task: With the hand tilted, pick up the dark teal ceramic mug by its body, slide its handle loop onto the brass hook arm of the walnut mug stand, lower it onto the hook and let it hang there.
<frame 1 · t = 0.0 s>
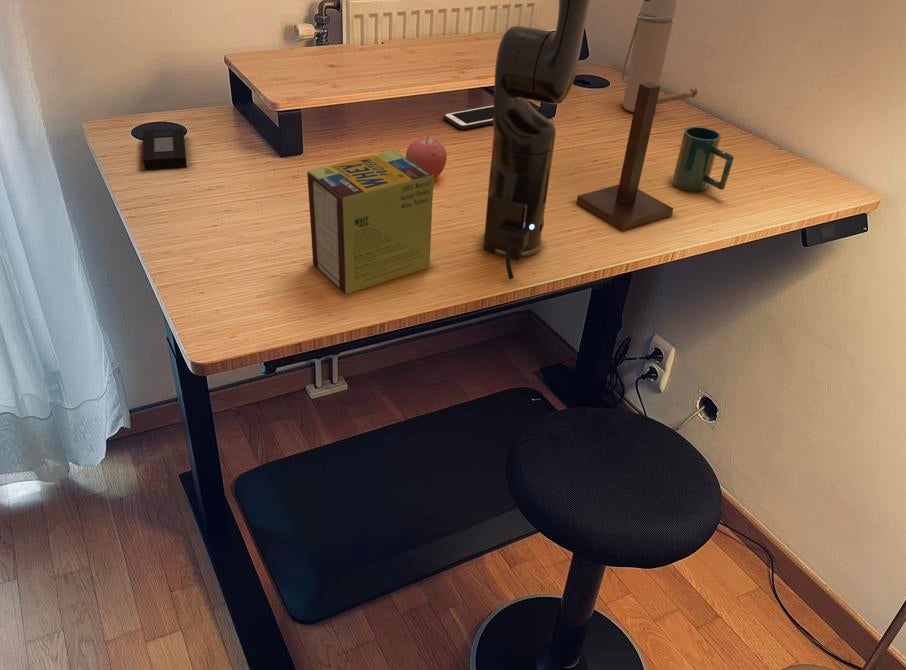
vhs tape: (165, 154, 151), on the table
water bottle: (633, 109, 182), on the table
apple: (425, 179, 148), on the table
cell phone: (479, 120, 172), on the table
mug stand: (623, 209, 141), on the table
protein box: (371, 267, 122), on the table
mug: (689, 184, 150), on the table
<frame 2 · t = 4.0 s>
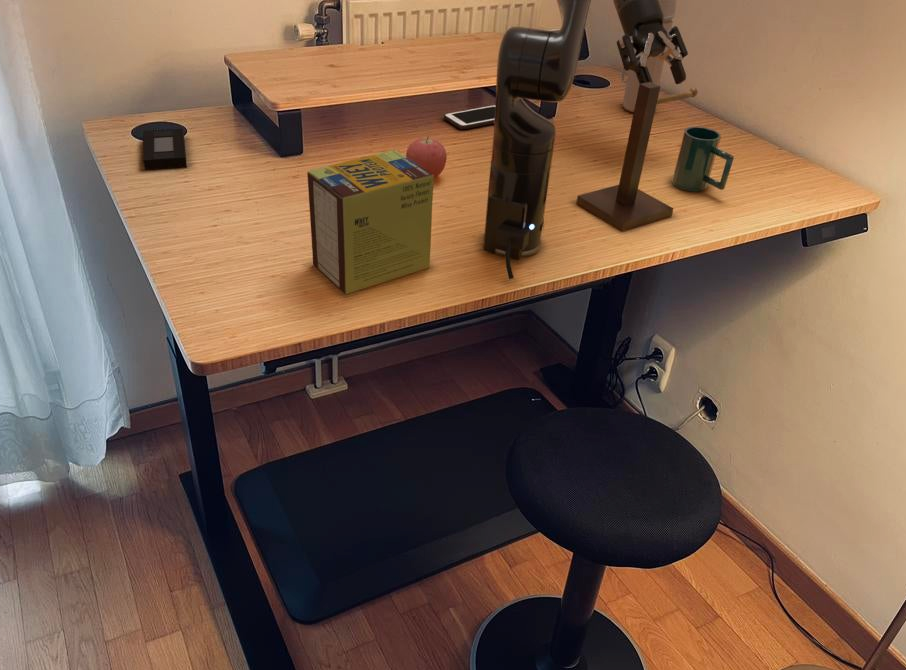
hand: (665, 85, 148), 15 cm above the table, tool tilted 45°, fingers open, 8 cm apart
nothing on the table moved.
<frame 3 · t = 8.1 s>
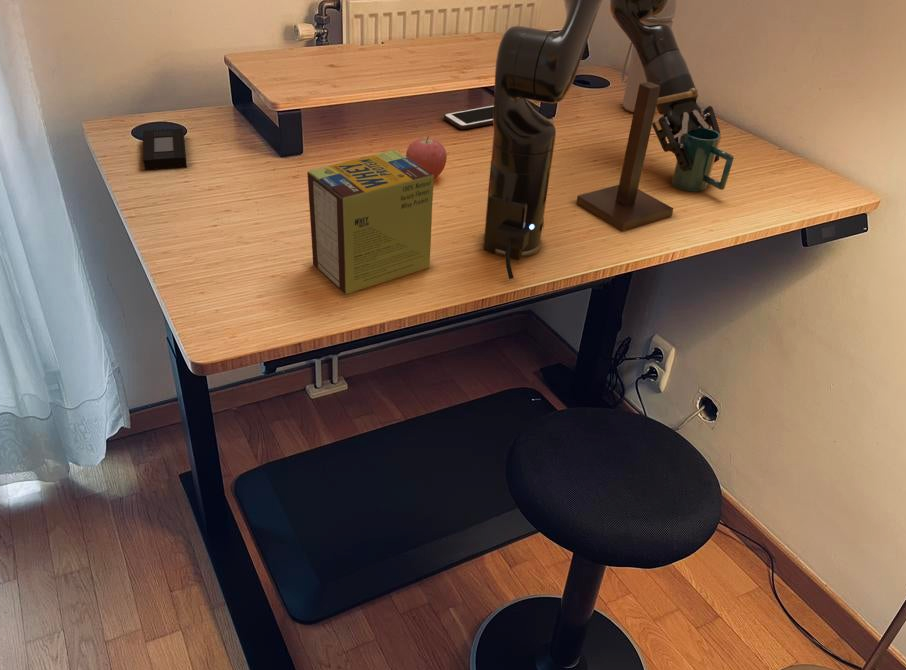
hand: (701, 165, 146), 4 cm above the table, tool tilted 45°, fingers closed on mug, 6 cm apart
mug: (689, 184, 150), on the table, touching gripper
everything else where it was.
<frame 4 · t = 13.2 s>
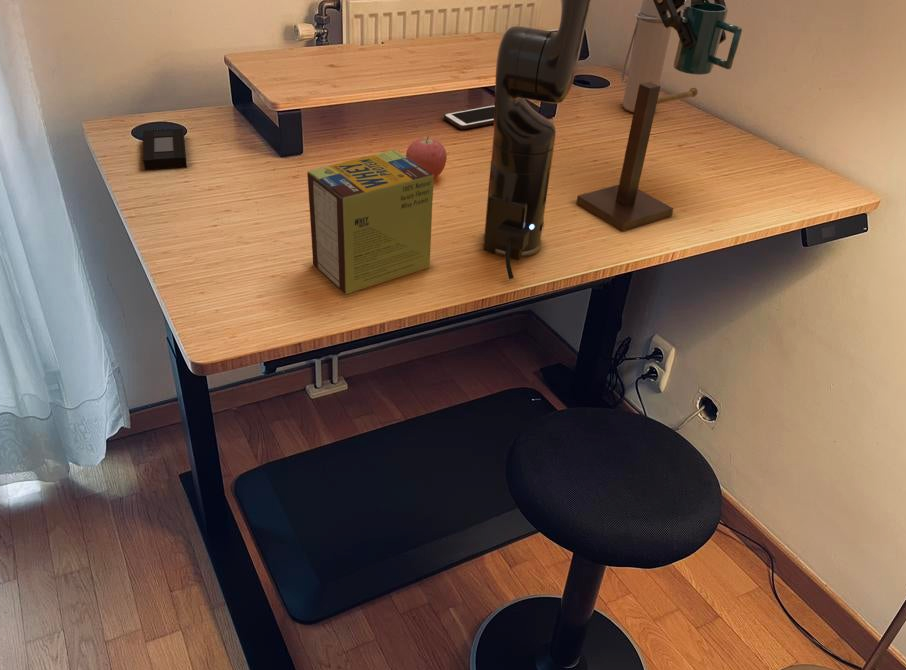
hand: (706, 44, 133), 26 cm above the table, tool tilted 45°, fingers closed on mug, 6 cm apart
mug: (692, 68, 137), point 21 cm above the table, touching gripper
everything else where it was.
when the fingers open (16 cm above the table, at t = 18.2 s): mug drops 1 cm and tips over, point 11 cm above the table.
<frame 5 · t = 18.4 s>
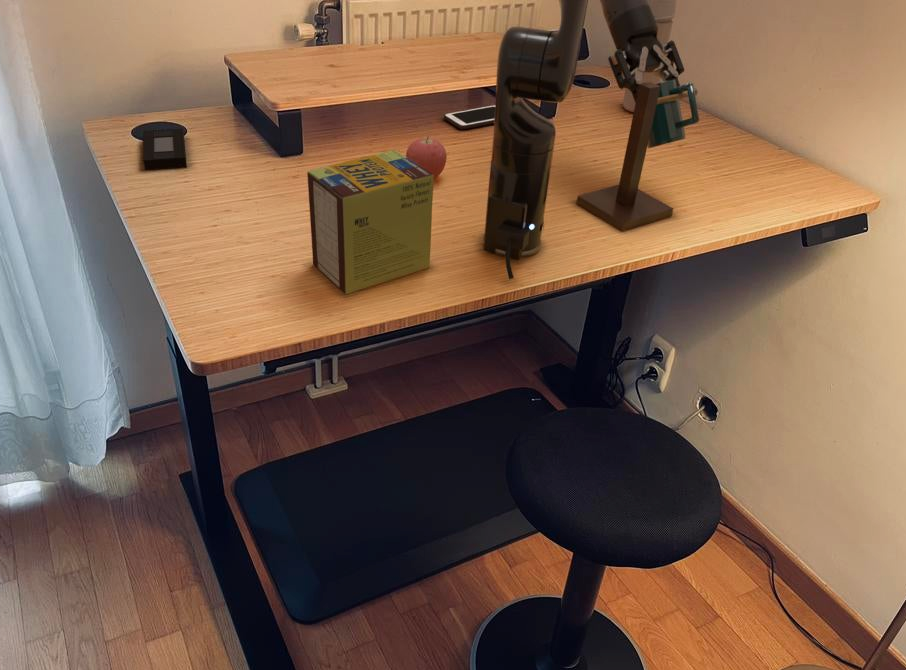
hand: (661, 104, 136), 17 cm above the table, tool tilted 45°, fingers open, 7 cm apart
mug: (666, 143, 138), point 11 cm above the table, tilted 32°
everything else where it was.
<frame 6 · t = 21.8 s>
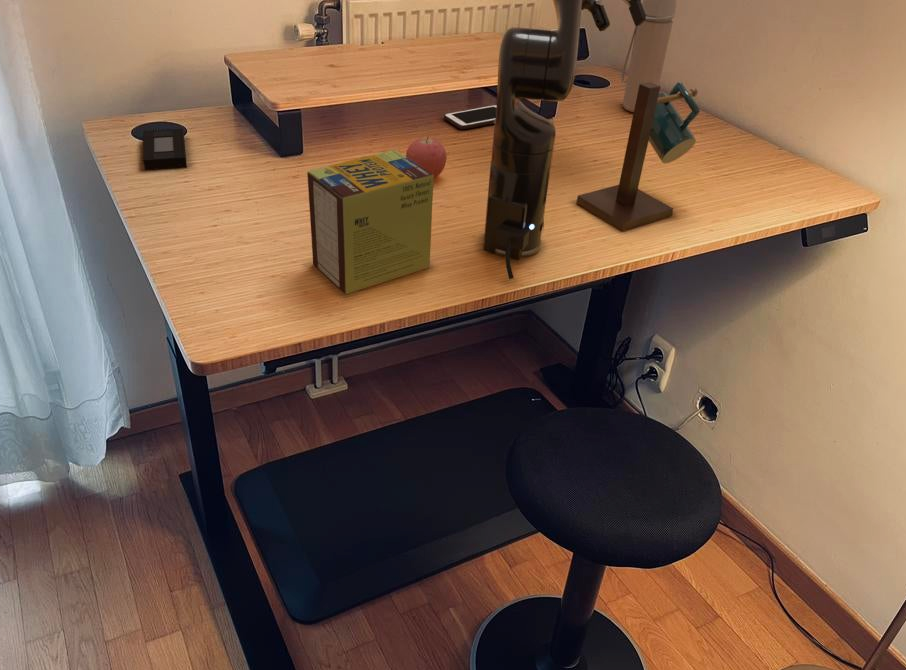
hand: (623, 26, 138), 26 cm above the table, tool tilted 45°, fingers open, 8 cm apart
mug: (678, 151, 136), point 10 cm above the table, tilted 59°, touching mug stand
everything else where it was.
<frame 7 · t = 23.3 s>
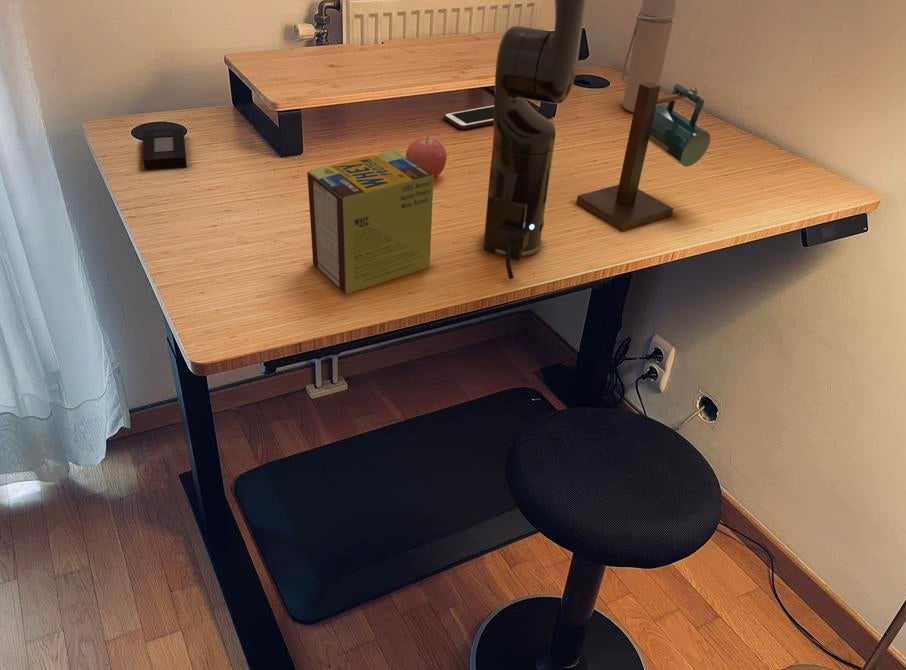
mug: (695, 149, 133), point 12 cm above the table, tilted 82°, touching mug stand
everything else where it was.
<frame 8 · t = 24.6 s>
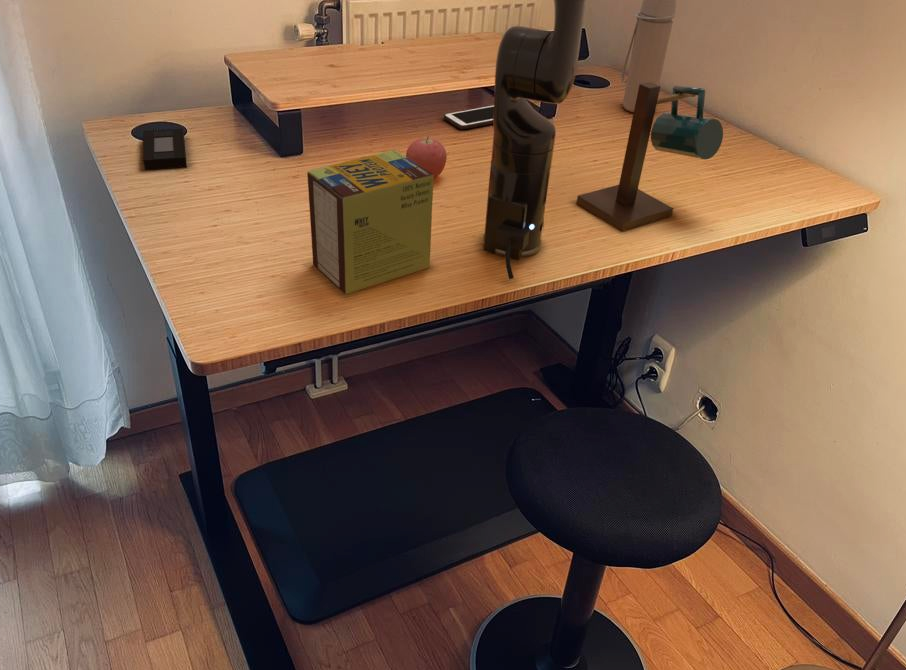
mug: (709, 139, 130), point 14 cm above the table, tilted 102°, touching mug stand
everything else where it was.
at the end: mug inside the target area on the mug stand (0.2 cm from its centre), point 10.1 cm above the mug stand's base; mug touching mug stand; the gripper is holding nothing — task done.
